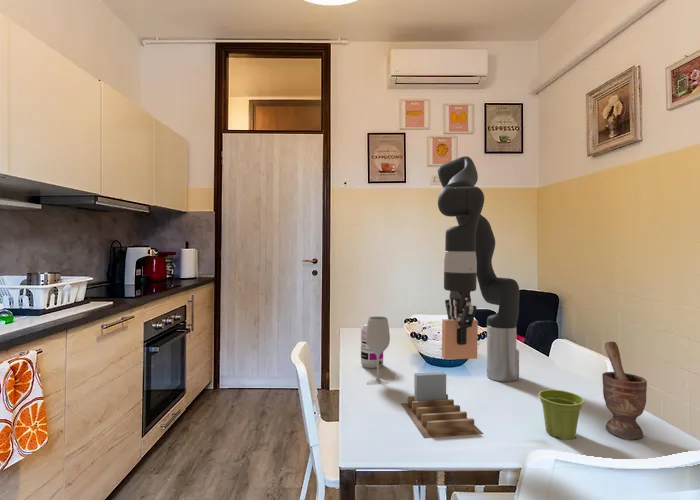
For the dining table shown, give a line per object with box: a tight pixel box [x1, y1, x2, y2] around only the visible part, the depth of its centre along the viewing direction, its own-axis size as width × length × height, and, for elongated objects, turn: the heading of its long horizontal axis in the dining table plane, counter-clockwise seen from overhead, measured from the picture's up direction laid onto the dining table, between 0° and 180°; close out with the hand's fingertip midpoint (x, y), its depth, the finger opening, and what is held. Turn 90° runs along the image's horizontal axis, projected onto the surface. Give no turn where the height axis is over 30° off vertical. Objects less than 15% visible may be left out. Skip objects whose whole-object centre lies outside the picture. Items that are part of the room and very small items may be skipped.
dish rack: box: [400, 393, 484, 439], centre depth 101 cm, size 14×20×4 cm
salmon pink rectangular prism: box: [441, 318, 479, 360], centre depth 97 cm, size 8×2×9 cm, turn 98°
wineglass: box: [366, 316, 391, 386], centre depth 129 cm, size 8×8×21 cm
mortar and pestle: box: [601, 341, 648, 441], centre depth 96 cm, size 12×9×20 cm
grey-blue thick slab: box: [413, 371, 447, 401], centre depth 107 cm, size 8×2×9 cm, turn 98°
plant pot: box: [538, 389, 585, 440], centre depth 94 cm, size 9×9×9 cm
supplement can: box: [360, 322, 384, 369], centre depth 149 cm, size 8×8×15 cm
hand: (459, 343), depth 97 cm, fingers closed on salmon pink rectangular prism, 1 cm apart
